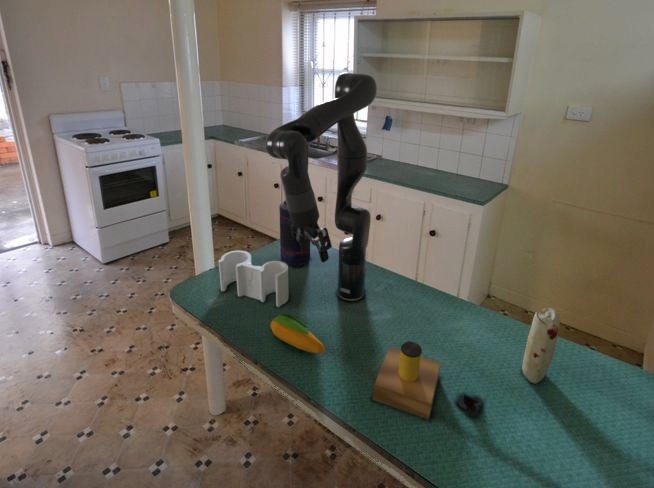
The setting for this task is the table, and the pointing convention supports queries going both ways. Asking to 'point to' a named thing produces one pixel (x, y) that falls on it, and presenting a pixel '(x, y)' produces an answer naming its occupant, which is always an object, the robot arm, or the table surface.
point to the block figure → (469, 404)
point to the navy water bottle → (290, 241)
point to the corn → (295, 334)
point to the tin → (409, 361)
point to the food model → (541, 344)
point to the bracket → (254, 276)
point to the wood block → (407, 385)
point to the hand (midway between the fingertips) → (315, 255)
